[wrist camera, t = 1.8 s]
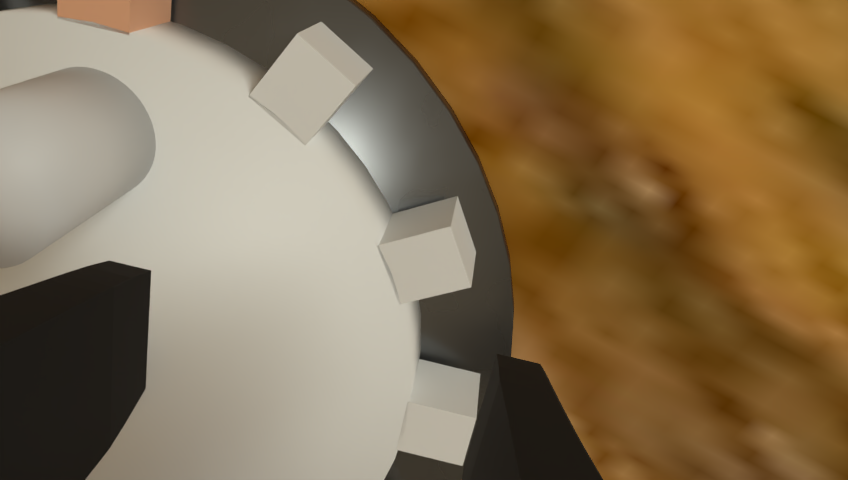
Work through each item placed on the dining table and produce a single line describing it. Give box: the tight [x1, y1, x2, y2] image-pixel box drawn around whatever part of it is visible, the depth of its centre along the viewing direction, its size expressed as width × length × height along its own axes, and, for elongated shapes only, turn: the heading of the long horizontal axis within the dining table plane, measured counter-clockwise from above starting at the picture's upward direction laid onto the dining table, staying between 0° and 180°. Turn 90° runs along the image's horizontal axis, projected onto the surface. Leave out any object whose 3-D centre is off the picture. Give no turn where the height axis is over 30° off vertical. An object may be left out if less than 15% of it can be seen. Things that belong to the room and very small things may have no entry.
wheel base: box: [0, 0, 514, 480], centre depth 21 cm, size 22×24×2 cm
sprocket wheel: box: [0, 0, 480, 480], centre depth 18 cm, size 20×20×6 cm
